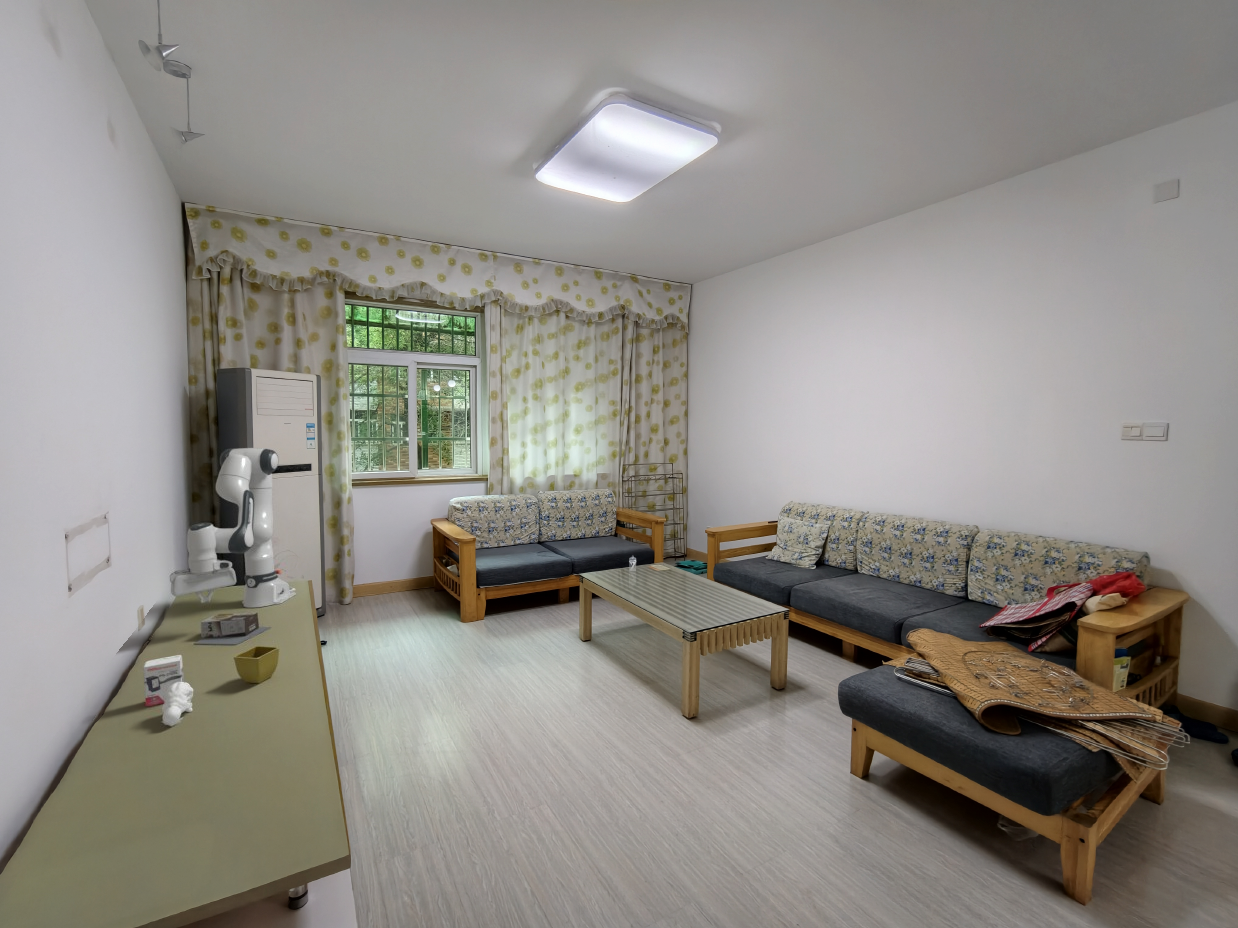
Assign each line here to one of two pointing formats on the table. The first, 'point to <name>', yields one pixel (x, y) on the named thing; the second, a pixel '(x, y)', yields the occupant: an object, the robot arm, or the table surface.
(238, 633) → the coffee box
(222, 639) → the mat
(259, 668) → the flower pot
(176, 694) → the white figurine
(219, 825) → the table surface
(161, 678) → the ink box
